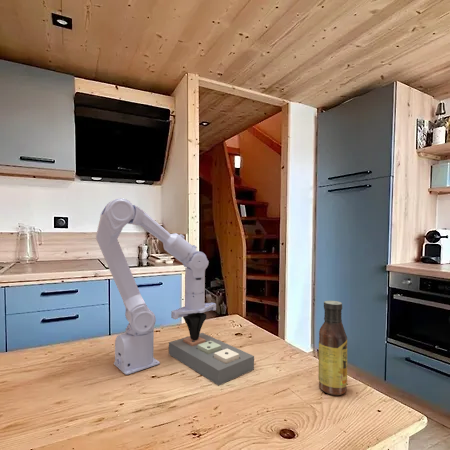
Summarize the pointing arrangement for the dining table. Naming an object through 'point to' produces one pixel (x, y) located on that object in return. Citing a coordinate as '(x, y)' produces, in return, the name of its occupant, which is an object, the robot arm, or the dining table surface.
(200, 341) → the tile three
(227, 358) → the tile one
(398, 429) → the dining table surface
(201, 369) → the tile tray
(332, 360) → the sauce bottle
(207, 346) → the tile two
